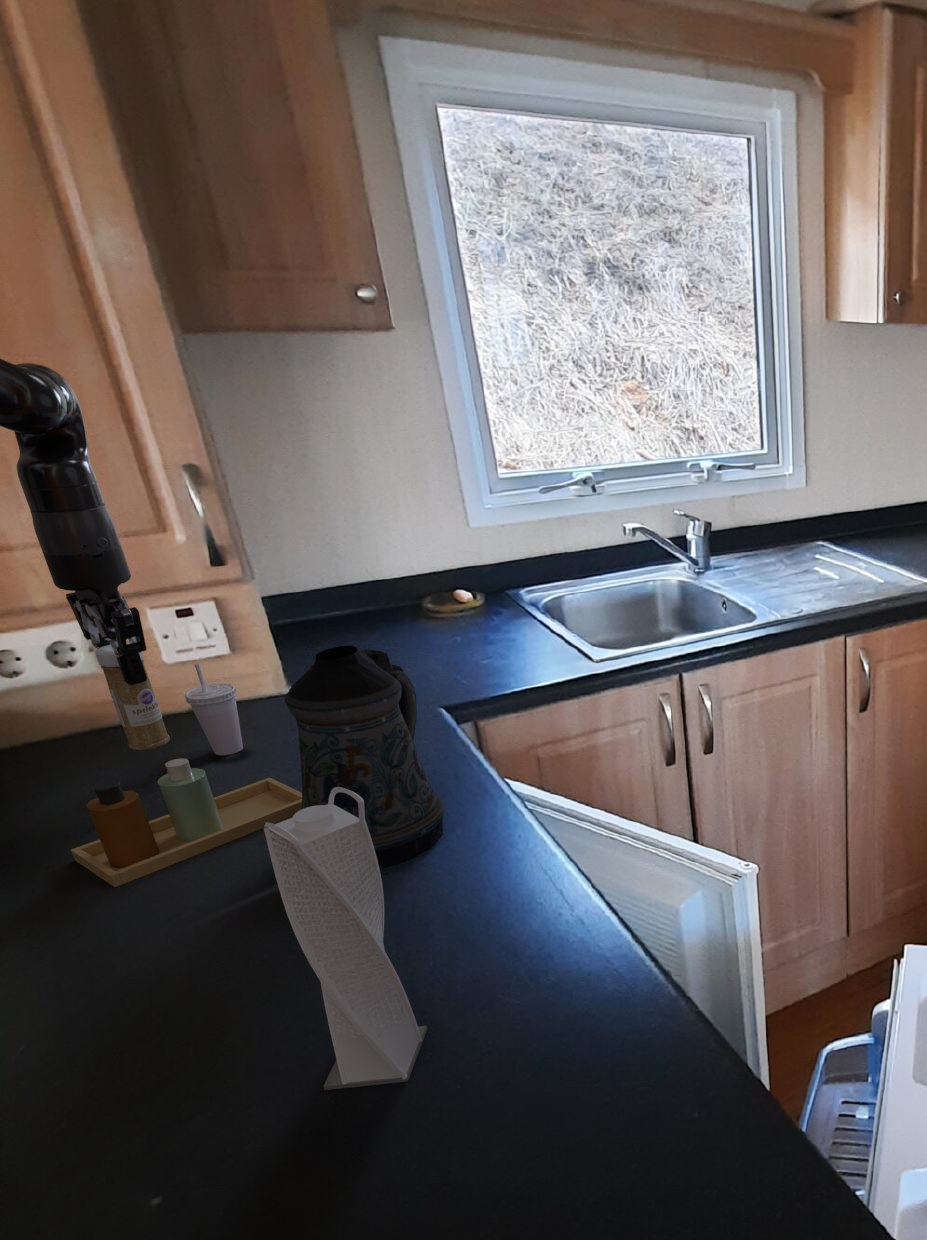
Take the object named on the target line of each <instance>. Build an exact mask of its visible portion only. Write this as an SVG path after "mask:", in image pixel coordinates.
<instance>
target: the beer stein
mask: <svg viewBox="0 0 927 1240" xmlns="http://www.w3.org/2000/svg"><path fill="white" fill-rule="evenodd" d="M284 703H285V705H286V706H287V708H288V710H289V712H290V714H291V715H292V716H293V717H294V718H295V720H296V726H297V735H298V749H299V758H300V759H299V760H300V774H301V793H302V809H304V808H307V807H311V806H318V805H327V804H328V800H329V796H330V793H331V790H332V789H333V788H335V787H342V788H345V789H348V790H350V791H353V792H355V793H356V794H358V795H359V796H360V797H361V798H362V799H363V800H364V812H365V821H366V824H367V827H368V830H369V833H370V836H371V839H372V843H373V846H374V850H375V853H376V856H377V861H378V865H379V869H382V868H386V867H390V866H393V865H396V864H400V863H404V862H407V861H409V860H411V859H413V858H415V857H416V856H418V855H420V854H422V853H424V852H426V851H427V850H430V849H432V847H434V845H435V844H436V843H437V842H438V840H439V839H440V838H441V837H442V836H443V834H444V815H445V814H444V813H445V807H444V806H445V805H444V802H443V800H442V799H441V798H440V797H439V795H438V794H437V793H436V791H435V790H434V789H433V787H432V785H431V784H430V781H429V779H428V777H427V775H426V772H425V770H424V766H423V764H422V762H421V758H420V756H419V754H418V750H417V748H416V745H415V742H414V740H415V734H416V727H417V726H416V725H417V708H418V706H417V694H416V690H415V688H414V685H413V682H412V681H411V679H410V677H409V676H408V675H407V674H406V673H405V671H404V669H403V667H402V666H399V665H397V664H391V661H390V657H389V655H388V653H387V652H384V651H382V650H381V651H380V650H376V649H369V648H363V649H360V650H359V649H358V648H357V646H354V645H349V644H348V645H338V646H335V647H332V648H327V649H324V650H322V651H320V652H318V653H316V654H315V658H314V663H313V664H312V665H311V666H310V667H309V668H308V669H307V670H306V671H305V673H304V674H302V675H301V676H300V677H299V678H298V680H296V682H294V684H292V686H290V688H289V689H288V692H287V693H286V695H285V697H284ZM333 804H334V805H335V806H337V807H339V808H341V809H343V810H345V811H346V812H348V813H350V814H352V815H354V816H356V817H357V818H359V809H358V802H357V801H356V800H355V799H354V798H353V797H352V796H350V795H348V794H346V793H342V792H338V793H336V794H335V796H334V803H333ZM302 809H301V810H302Z"/></svg>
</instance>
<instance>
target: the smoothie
mask: <svg viewBox="0 0 927 1240" xmlns="http://www.w3.org/2000/svg"><path fill="white" fill-rule="evenodd" d="M194 667H195V670H196V673H197V676H198V680H199V683H200V685H199V686H197V687H195V688H192V689H190V690H188V691H187V692H186V693H184V698H185V702H186V703H187V704H188V705H190V707H191V709H192V711H193V713H194V715H195V717H196V719H197V721H198V723H199V725H200V727H201V729H202V731H203V733H204V735H205V737H206V739H207V741H208V743H209V745H210V747H211V749H212V751H213V753H214V754H215V755H217V756H228V755H229V756H230V755H233V754H236V753H239V752H241V751H243V749H244V746H243V744H244V743H243V739H242V731H241V726H240V725H241V724H240V718H239V713H238V704H237V699H236V696H237V694H238V691H237V690H236V687H235V685H233V684H231V683H210V684H206V681H205V678H204V675H203V672H202V668H201V665H200V663H195V664H194Z"/></svg>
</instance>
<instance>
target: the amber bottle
mask: <svg viewBox="0 0 927 1240" xmlns="http://www.w3.org/2000/svg"><path fill="white" fill-rule="evenodd" d="M93 790H94V791H95V794H96V796H97V797H94V798H93V799H91V800H90V801H89V802H88V803H87V804H86V809H87V812H88V814H89V816H90V819H91V822H92V824H93V826H94V829H95V831H96V834H97V836H98V838H99V839H100V841H101V844H102V846H103V849H104V851H105V853H106V856H107V858H108V861H109V863H110V865H111V866H112V867H115V868H125V867H128V866H130V865H133V864H135V863H138V862H141V861H143V860H146V859H148V858H151V857H153V856H156V855H158V854H159V848H158V846H157V843H156V840H155V838H154V835H153V832H152V830H151V827H150V824H149V819H148V816H147V814H146V811H145V808H144V805H143V803H142V801H141V797H140V795H139V793H138V792H136V791H133V790H123V788H122V786H121V783H120V781H118V780H110V781H103V782H101V783H99V784H97V785H95V787H94V789H93ZM99 839H98V840H99Z"/></svg>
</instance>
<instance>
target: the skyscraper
mask: <svg viewBox="0 0 927 1240" xmlns="http://www.w3.org/2000/svg"><path fill="white" fill-rule="evenodd" d="M338 792H342V793H346V794H348V795H350V796H352V797H353V798H354V799H355V800H356V801H357V802H358V809H359V818H357V817H356V816H354V815H352V814H350V813H348V812H346V811H345V810H343V809H341V808H339V807H337V806H335V805H334V804H333V803H334V796H335V794H336V793H338ZM263 832H264V836H265V840H266V844H267V848H268V853H269V856H270V861H271V865H272V869H273V872H274V876H275V879H276V883H277V887H278V890H279V894H280V898H281V900H282V904H283V906H284V909H285V912H286V915H287V918H288V920H289V923H290V925H291V928H292V931H293V933H294V935H295V938H296V940H297V942H298V945H299V946H300V948H301V950H302V952H303V954H304V956H305V958H306V959H307V962H308V964H309V965H310V967H311V969H312V970H313V972H314V973H315V975H316V977H317V978H318V980H319V982H320V988H321V993H322V999H323V1005H324V1010H325V1014H326V1019H327V1024H328V1028H329V1035H330V1037H331V1041H332V1046H333V1051H334V1054H335V1061H334V1063H333V1065H332V1067H331V1069H330V1072H329V1073H328V1076H327V1078H326V1080H325V1082H324V1084H323V1090H324V1091H331V1090H339V1089H349V1088H360V1087H368V1086H369V1087H370V1086H378V1085H388V1084H396V1083H397V1084H399V1083H407V1082H409V1080H410V1078H411V1075H412V1072H413V1069H414V1067H415V1064H416V1061H417V1058H418V1056H419V1053H420V1050H421V1049H422V1045H423V1042H424V1040H425V1037H426V1034H427V1031H428V1026H427V1025H418V1023H417V1020H416V1017H415V1014H414V1012H413V1008H412V1006H411V1003H410V1001H409V999H408V995H407V993H406V990H405V988H404V986H403V984H402V981H401V979H400V977H399V975H398V973H397V971H396V968H395V967H394V965H393V963H392V962H391V960H390V958H389V956H388V954H387V952H386V949H385V945H384V936H385V935H384V934H385V896H384V888H383V880H382V875H381V874H382V873H381V870H380V869H381V868H380V869H379V865H378V861H377V856H376V853H375V850H374V846H373V843H372V839H371V836H370V833H369V830H368V827H367V824H366V821H365V812H364V800H363V799H362V798H361V797H360V796H359V795H358V794H356V793H355V792H353V791H350V790H348V789H345V788H342V787H335V788H333V789H332V790H331V793H330V796H329V800H328V804H327V805H318V806H311V807H307V808H304V809H302V810H300V811H298V812H297V813H295V814H294V816H292V817H290V818H287V819H285V820H282V821H280V822H277V823H275V824H272V823H269V822H266V823H265V825H264V828H263Z"/></svg>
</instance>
